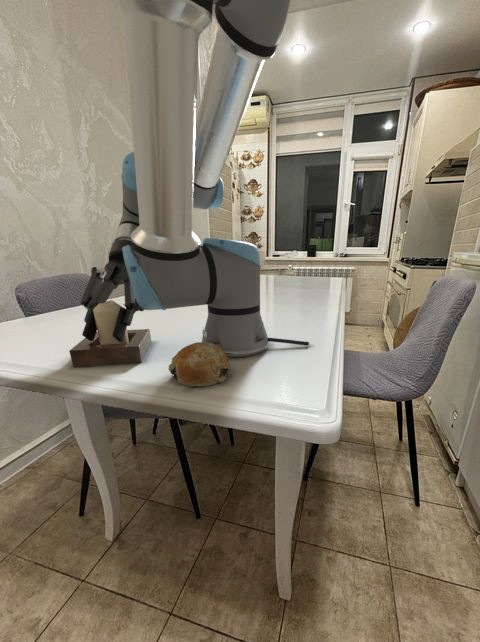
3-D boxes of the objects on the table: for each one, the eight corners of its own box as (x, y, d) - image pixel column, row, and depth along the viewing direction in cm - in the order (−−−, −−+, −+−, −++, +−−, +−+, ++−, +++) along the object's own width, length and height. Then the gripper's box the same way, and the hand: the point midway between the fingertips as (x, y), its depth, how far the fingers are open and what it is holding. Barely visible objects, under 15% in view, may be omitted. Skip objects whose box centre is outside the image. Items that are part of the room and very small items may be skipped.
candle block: (151, 342, 70) (149, 328, 69) (141, 362, 59) (138, 346, 57) (95, 346, 68) (92, 331, 67) (73, 367, 56) (68, 350, 55)
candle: (111, 342, 66) (103, 298, 62) (134, 343, 65) (127, 299, 62) (95, 351, 61) (85, 303, 57) (119, 352, 60) (110, 304, 56)
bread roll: (208, 409, 49) (225, 372, 46) (154, 381, 49) (168, 341, 46) (226, 383, 58) (242, 350, 55) (181, 359, 58) (194, 325, 55)
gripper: (174, 261, 71) (154, 347, 61) (101, 260, 72) (70, 345, 62) (162, 237, 64) (139, 330, 54) (82, 237, 65) (45, 328, 55)
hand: (102, 338), depth 58 cm, fingers closed on candle, 5 cm apart
